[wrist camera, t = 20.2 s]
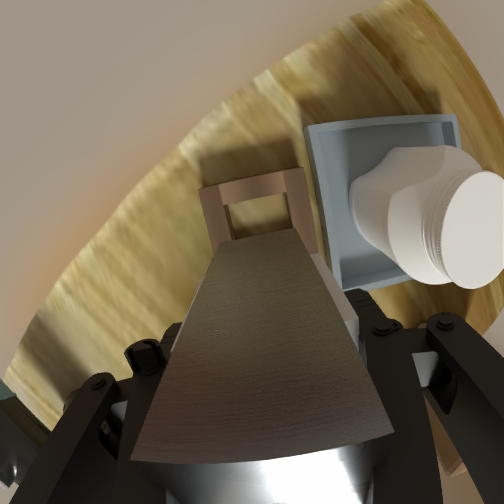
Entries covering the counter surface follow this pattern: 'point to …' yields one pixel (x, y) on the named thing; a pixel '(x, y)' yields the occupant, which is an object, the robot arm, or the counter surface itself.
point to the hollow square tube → (256, 187)
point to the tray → (351, 167)
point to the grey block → (264, 389)
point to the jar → (433, 214)
